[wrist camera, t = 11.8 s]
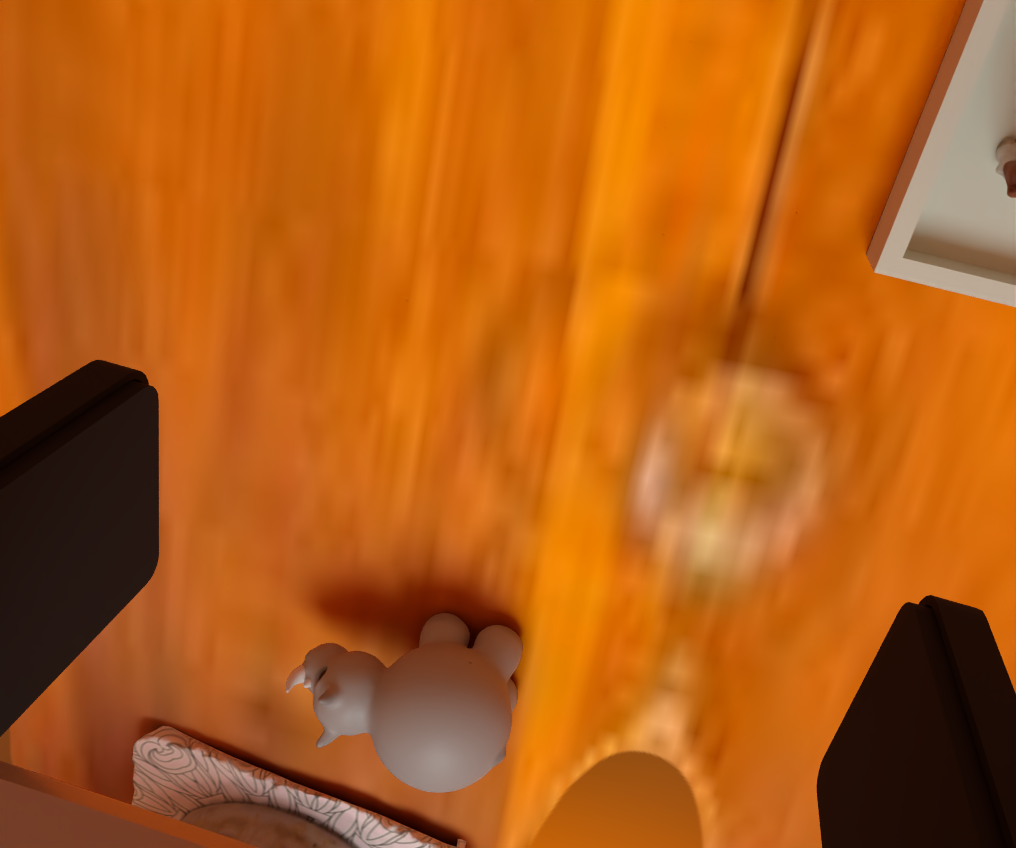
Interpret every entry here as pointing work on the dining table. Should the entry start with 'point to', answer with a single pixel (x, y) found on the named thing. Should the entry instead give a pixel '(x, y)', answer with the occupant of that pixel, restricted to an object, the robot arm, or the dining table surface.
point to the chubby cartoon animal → (422, 701)
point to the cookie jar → (254, 800)
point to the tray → (959, 169)
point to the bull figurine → (1007, 164)
